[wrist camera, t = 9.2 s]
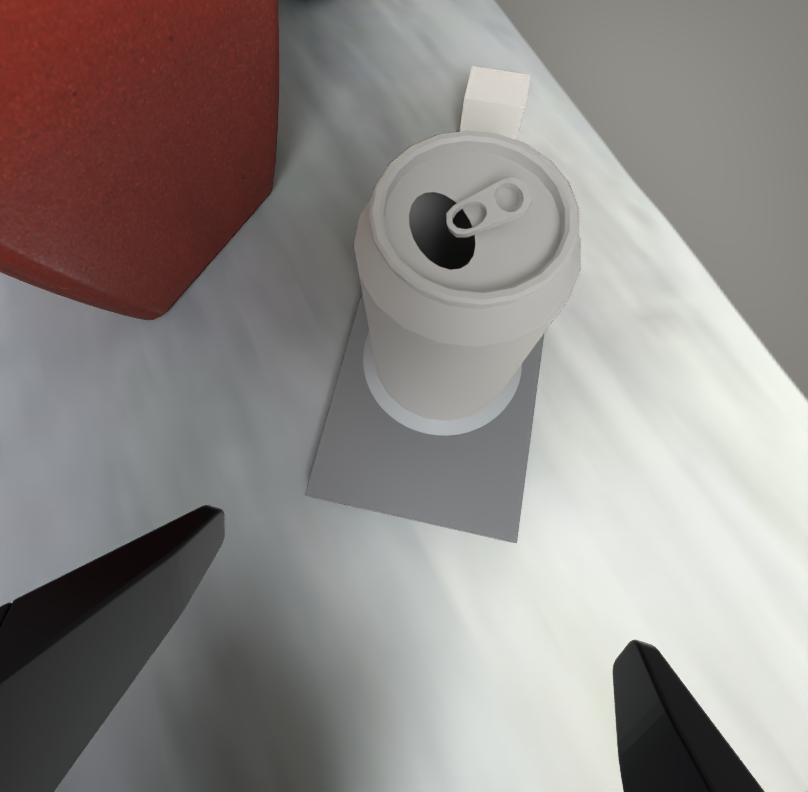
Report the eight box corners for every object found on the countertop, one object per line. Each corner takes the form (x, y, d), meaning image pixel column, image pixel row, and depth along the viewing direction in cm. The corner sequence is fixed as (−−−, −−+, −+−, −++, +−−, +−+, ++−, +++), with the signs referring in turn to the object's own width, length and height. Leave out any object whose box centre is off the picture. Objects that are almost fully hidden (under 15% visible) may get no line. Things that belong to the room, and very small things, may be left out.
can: (357, 324, 24) (315, 144, 13) (476, 285, 25) (537, 83, 14) (401, 444, 22) (397, 357, 11) (529, 398, 23) (654, 271, 11)
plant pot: (137, 70, 32) (-128, -382, 16) (343, 171, 29) (270, -258, 13) (-59, 251, 27) (-714, -136, 11) (164, 393, 25) (-294, 143, 8)
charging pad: (511, 542, 22) (526, 544, 19) (310, 496, 23) (296, 492, 20) (566, 124, 30) (583, 83, 28) (419, 101, 31) (420, 58, 28)
